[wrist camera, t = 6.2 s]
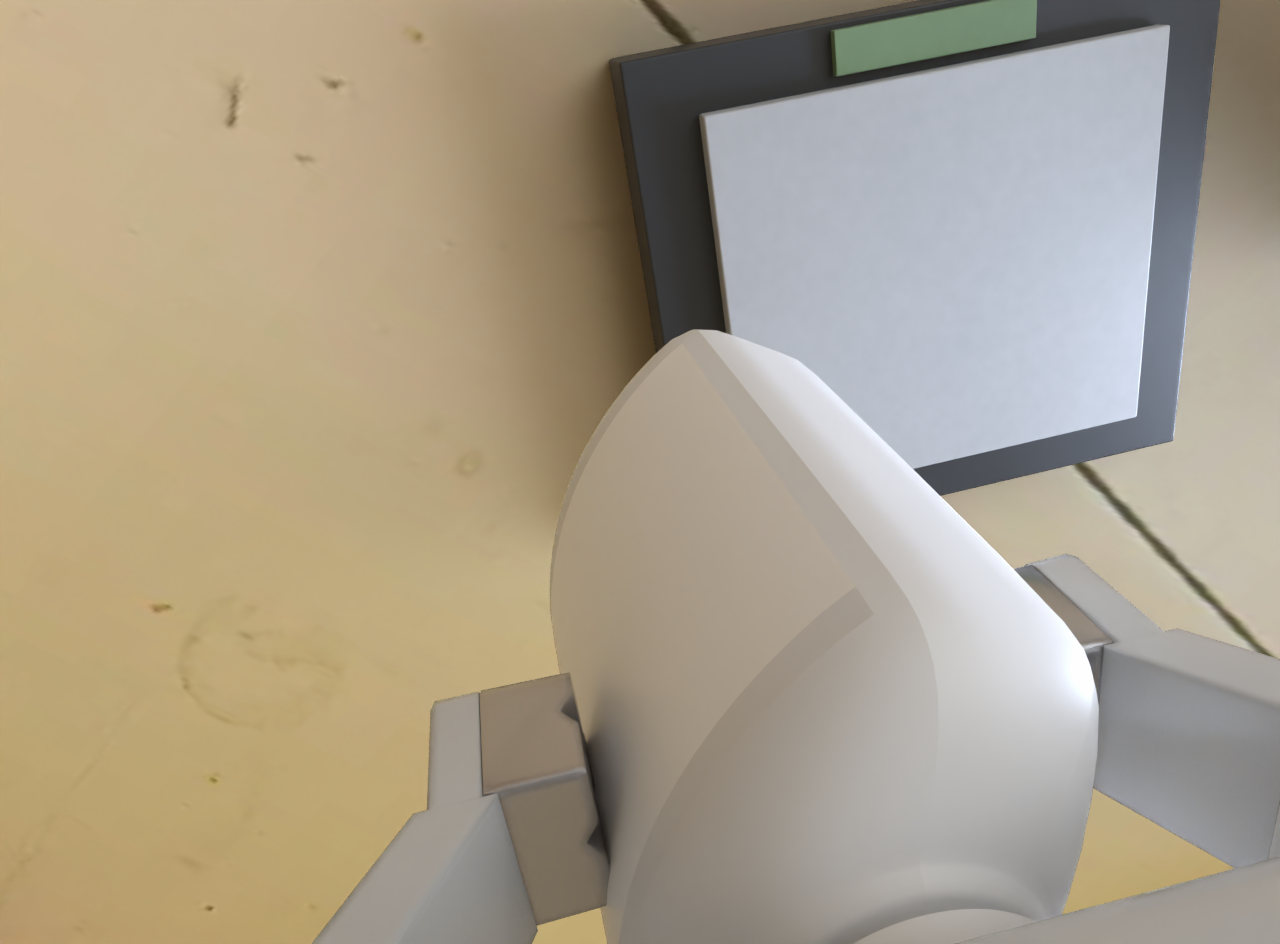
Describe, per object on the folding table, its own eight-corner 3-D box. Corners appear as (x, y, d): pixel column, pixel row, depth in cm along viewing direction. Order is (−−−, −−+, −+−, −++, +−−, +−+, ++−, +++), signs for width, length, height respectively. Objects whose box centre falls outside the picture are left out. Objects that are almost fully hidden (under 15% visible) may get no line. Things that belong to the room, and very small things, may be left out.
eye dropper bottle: (439, 520, 14) (411, 2025, 4) (736, 274, 13) (1841, 1265, 3) (621, 685, 16) (959, 1990, 5) (891, 478, 15) (1903, 1533, 5)
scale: (608, 58, 28) (622, 63, 26) (1180, -50, 29) (1242, -55, 27) (684, 526, 35) (700, 562, 33) (1139, 420, 37) (1185, 448, 34)
